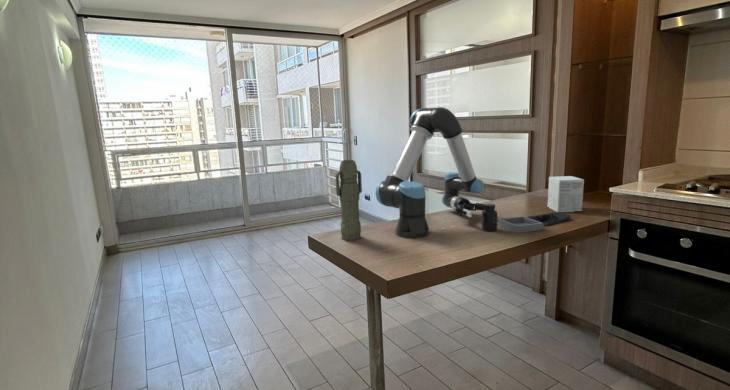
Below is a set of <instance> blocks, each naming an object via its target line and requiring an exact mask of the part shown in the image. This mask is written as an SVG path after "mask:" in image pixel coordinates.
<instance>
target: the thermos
mask: <svg viewBox="0 0 730 390" xmlns="http://www.w3.org/2000/svg"><path fill="white" fill-rule="evenodd" d="M335 188H336V189H335V190H336V191H335V192H336V196H338V197H339V202H340V212H341V213H340V214H341V217H340V218H341V221H340V234H341V240H343V241H346V242H347V241H349V242H350V241H351V242H352V241H357V240H361V234H362V233H361V232H362V230H361V229H362V223H361V221H360V205H359V201H360V194H361V193H362V192H363V188H362V173H361V171H360V170H358V167H357V164H356V161H355V160H353V159H344V160H342V161H340V165H339V171H337V172H336V174H335Z"/></svg>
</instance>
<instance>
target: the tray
mask: <svg viewBox="0 0 730 390" xmlns="http://www.w3.org/2000/svg"><path fill="white" fill-rule="evenodd" d="M527 217H528V216H524V215H523V216H515V217H504V218H497V227H501V228H503V229H506V230H508V231H511V232H513V233H516V234H519V233H527V232H535V231H542V230H543V229H544V226H543V223H541V222H538V221H536V220H533V219H530V218H527Z"/></svg>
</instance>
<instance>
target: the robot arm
mask: <svg viewBox="0 0 730 390" xmlns="http://www.w3.org/2000/svg"><path fill="white" fill-rule="evenodd" d="M455 115H456V114H454V113H453V112H452V111H451V110H449V109H448V108H446V107H442V106H440V107H439V106H438V107H422V108H418V109H416V110H414V111H413V113H412V114H411V115H410V118H409V121H410V123H409V125H410V132H411V133H410V135H409V138H408V139H407V142H406V144H405V145H404V147H403V149H402V152H401V154H400V156H399V158H398V160H397V162H396V164H395V166H394V168H393V170H392V172H391V173H390V174H389V173H388V175H386V178H385V179H384V180H382V181H380V182H379V183H378V184H377V186H376V188H375V196H376V200H377V202H378V204H380V205H383V206H385V207H388V208H389V207H390V208H394V209H398V210H399V218H398V221H397V224H396V228H395V234H396V236H398V237H401V238H406V239H407V238H408V239H419V238H424V237H426V236H429V234H430V227H429V225H428V221H427V219H426V191H425V190H426V188H425V185H424V184H423V183H420V182H416V181H409V179H410V178H411V175H412V173H413V171H414V169H415V167H416V165H417V162H418V161H419V158H420V156H421V154H422V152H423V150H424V148H425V147H426V146H425V145H426V143H427V141H428V140H431V139H432V137H433V136H434V134H435V133H440V134H441V135H442V137H443V139H445V140H446V143H447V146H448V147H449V150H450V154H451V155H452V159H453V162H454V163H455V166H456V170H457V172H455V171H449V172H446V173H445V174H444V176H445V177H444V194H443V195H442V196H441V202H442V204H443V206H445V207H448V208H450V209H453V210H454V211H455V215H459V216H463V215H464V216H466V217H467V218H468V217H469V218H472V211H473V212H474V211H483V210H485V209H484V204H485V203H479V202H475V203H472V202H471V201H470V200H469V199H467V198H465V197H462V196H460V195H459V194H460V192H463V193H470V194H480V193H481V192H482V191H483V189H484V181H483V180H482V179H480V178H477V175H476V173H475V169H474V168H473V164H472V161H471V159H470V156H469V152H468V149H467V146H466V143H465V141H464V138H463V135H462V133H463V128H462V125H461V123H460V121H459V120H458V118H457V116H455ZM495 210H496V211H497V208H495ZM497 212H498V211H497Z"/></svg>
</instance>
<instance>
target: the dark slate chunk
mask: <svg viewBox="0 0 730 390" xmlns="http://www.w3.org/2000/svg"><path fill="white" fill-rule="evenodd" d="M526 217H527V218H530V219H533V220H536V221H538V222H541V223H543V227H548V226H551V225H552V226H553V225H555V224H558V223H562V222H565V221H567V220H569V219H570V218H571V217H572V216H571V215H569V214H567V213H566V212H556V211H554V212H549V213H541V214H537V215H528V216H526Z"/></svg>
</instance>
